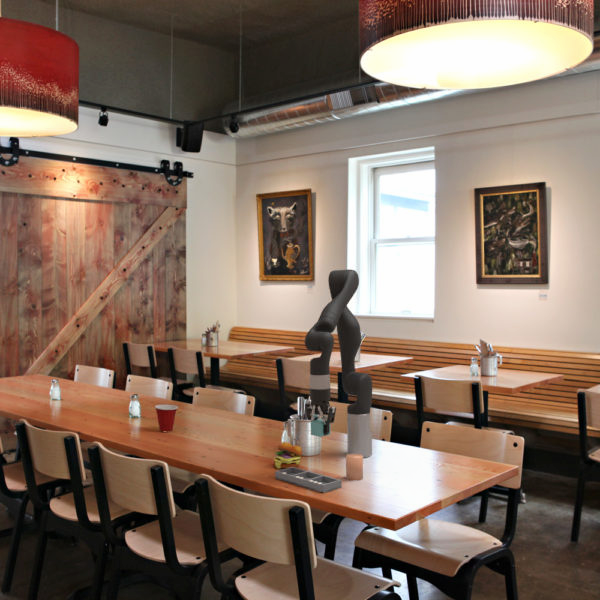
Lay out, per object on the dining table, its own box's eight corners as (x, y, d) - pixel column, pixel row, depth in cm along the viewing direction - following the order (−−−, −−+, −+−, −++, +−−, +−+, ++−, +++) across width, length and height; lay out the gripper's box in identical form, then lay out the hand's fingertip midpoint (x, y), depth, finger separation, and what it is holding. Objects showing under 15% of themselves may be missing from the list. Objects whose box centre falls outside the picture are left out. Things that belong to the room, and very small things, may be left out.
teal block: (320, 432, 254) (320, 418, 253) (330, 434, 250) (330, 420, 250) (310, 434, 250) (310, 421, 250) (320, 436, 246) (320, 423, 246)
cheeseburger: (266, 466, 261) (270, 439, 263) (286, 467, 269) (290, 441, 270) (285, 470, 254) (289, 443, 256) (305, 472, 262) (309, 445, 263)
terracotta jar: (353, 474, 249) (353, 452, 249) (366, 478, 245) (366, 455, 245) (342, 478, 245) (342, 455, 245) (355, 481, 241) (355, 458, 241)
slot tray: (292, 473, 251) (292, 466, 251) (341, 487, 234) (341, 479, 234) (274, 478, 245) (274, 470, 245) (323, 493, 228) (323, 485, 228)
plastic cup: (175, 433, 320) (175, 407, 320) (152, 433, 320) (152, 408, 320) (180, 428, 331) (180, 403, 331) (158, 428, 331) (157, 403, 331)
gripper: (341, 387, 247) (342, 434, 247) (313, 383, 257) (314, 428, 258) (327, 390, 242) (327, 438, 242) (298, 385, 252) (299, 432, 253)
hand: (320, 433), depth 250 cm, fingers closed on teal block, 5 cm apart
